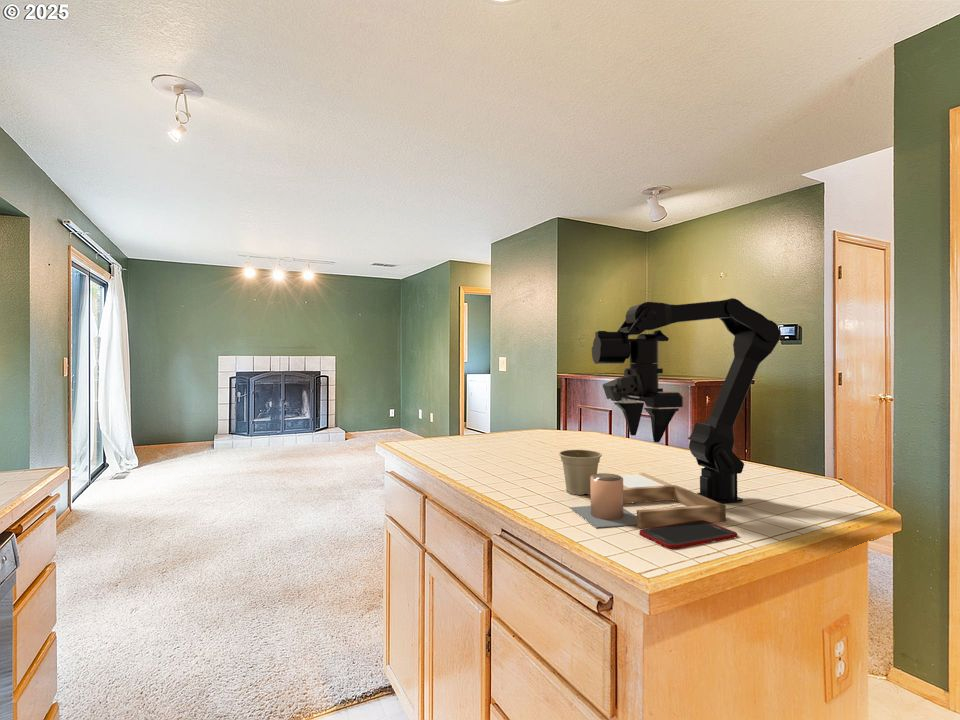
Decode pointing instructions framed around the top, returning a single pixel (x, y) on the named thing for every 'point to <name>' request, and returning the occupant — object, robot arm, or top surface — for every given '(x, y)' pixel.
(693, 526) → the cell phone
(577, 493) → the flower pot
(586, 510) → the mat
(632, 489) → the wooden u-shaped frame
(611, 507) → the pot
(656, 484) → the wood framed whiteboard
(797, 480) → the top surface
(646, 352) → the robot arm
